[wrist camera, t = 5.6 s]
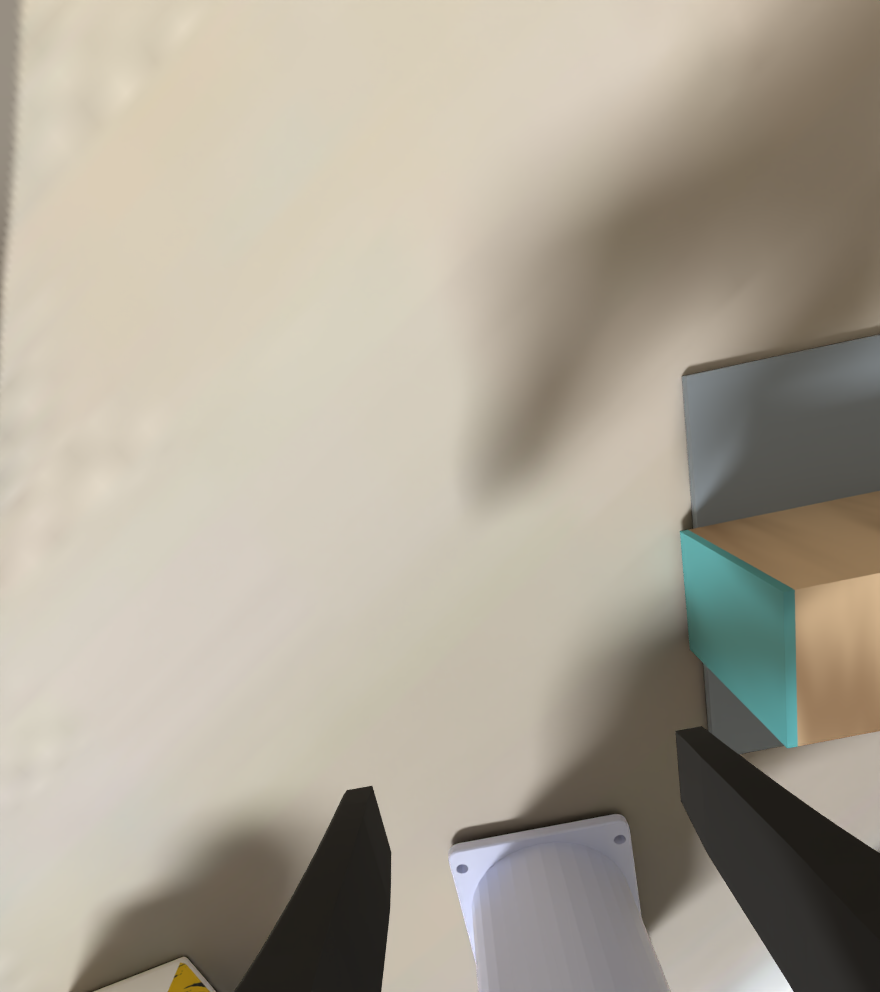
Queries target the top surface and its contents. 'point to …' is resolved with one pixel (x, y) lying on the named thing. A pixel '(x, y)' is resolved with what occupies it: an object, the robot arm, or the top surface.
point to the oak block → (792, 615)
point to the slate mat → (779, 459)
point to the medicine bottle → (164, 979)
